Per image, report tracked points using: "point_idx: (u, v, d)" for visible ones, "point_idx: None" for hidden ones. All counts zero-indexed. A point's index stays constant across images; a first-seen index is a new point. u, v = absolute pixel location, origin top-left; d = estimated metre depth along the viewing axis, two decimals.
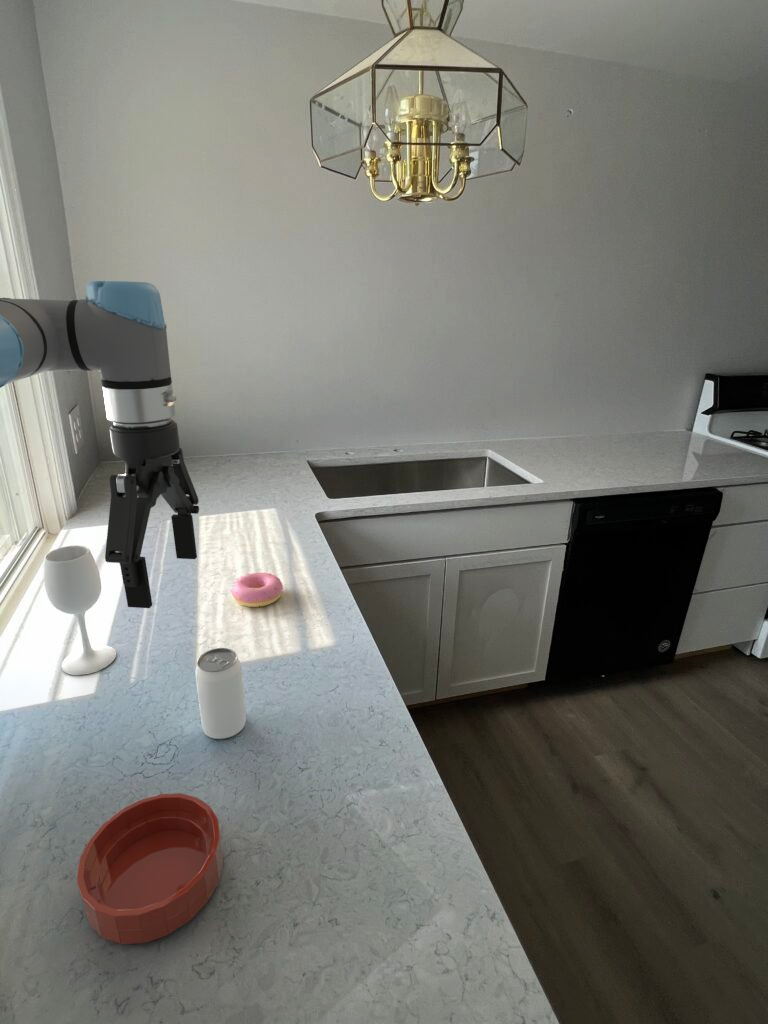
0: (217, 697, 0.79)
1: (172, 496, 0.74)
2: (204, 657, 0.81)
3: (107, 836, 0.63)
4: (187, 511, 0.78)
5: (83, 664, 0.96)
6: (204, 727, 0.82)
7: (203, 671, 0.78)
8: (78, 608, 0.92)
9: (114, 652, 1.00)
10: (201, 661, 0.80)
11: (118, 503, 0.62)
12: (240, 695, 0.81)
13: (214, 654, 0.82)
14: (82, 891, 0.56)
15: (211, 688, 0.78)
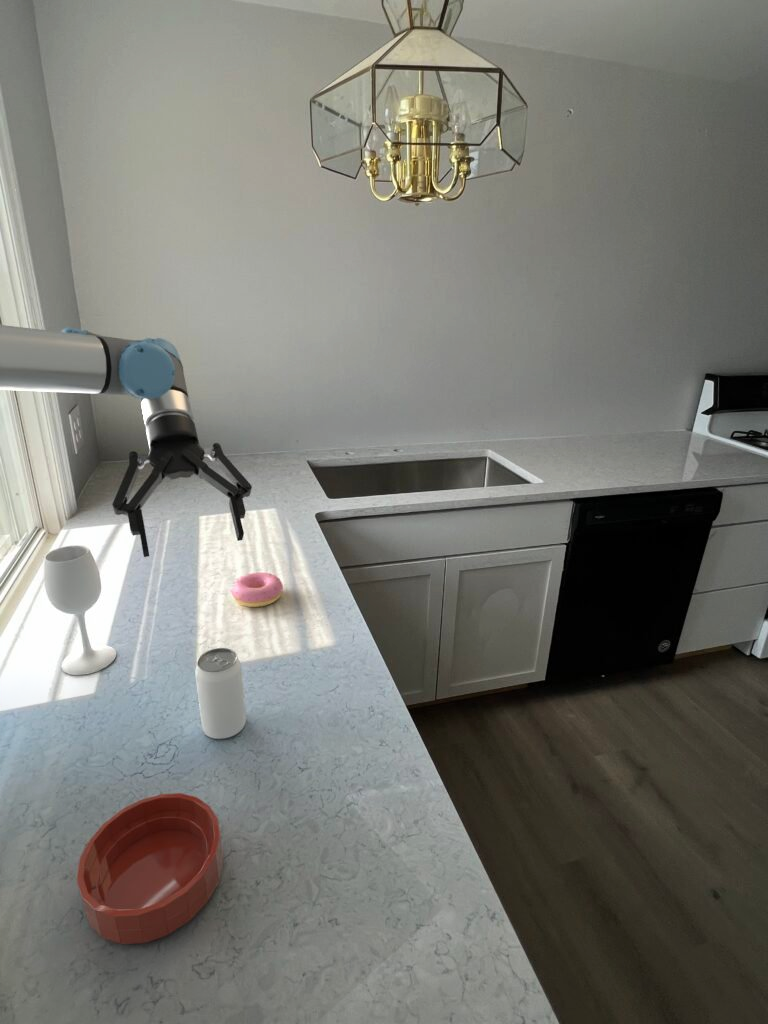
0: (217, 697, 0.79)
1: (152, 489, 0.85)
2: (204, 657, 0.81)
3: (107, 836, 0.63)
4: None
5: (83, 664, 0.96)
6: (204, 727, 0.82)
7: (203, 671, 0.78)
8: (78, 608, 0.92)
9: (114, 653, 1.00)
10: (201, 661, 0.80)
11: None
12: (240, 695, 0.81)
13: (214, 654, 0.82)
14: (82, 891, 0.56)
15: (211, 688, 0.78)
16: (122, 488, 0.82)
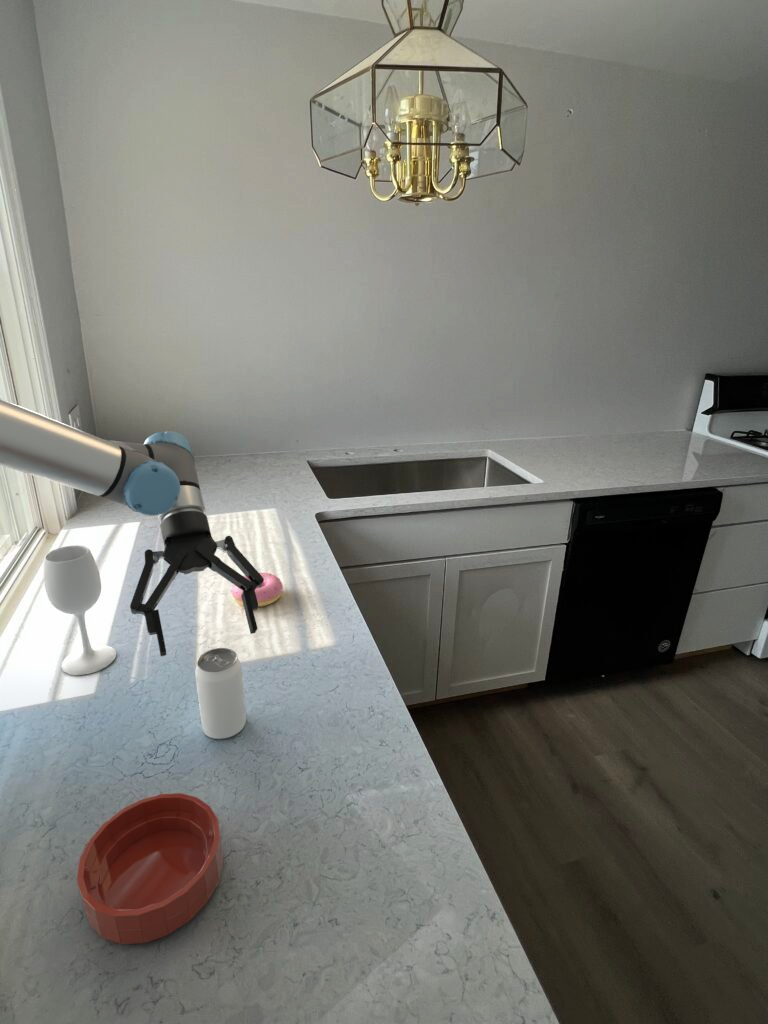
0: (217, 697, 0.79)
1: (167, 586, 0.87)
2: (204, 657, 0.81)
3: (107, 836, 0.63)
4: None
5: (83, 664, 0.96)
6: (204, 727, 0.82)
7: (203, 671, 0.78)
8: (78, 608, 0.92)
9: (114, 653, 1.00)
10: (201, 661, 0.80)
11: None
12: (240, 695, 0.81)
13: (214, 654, 0.82)
14: (82, 891, 0.56)
15: (211, 688, 0.78)
16: (139, 589, 0.84)
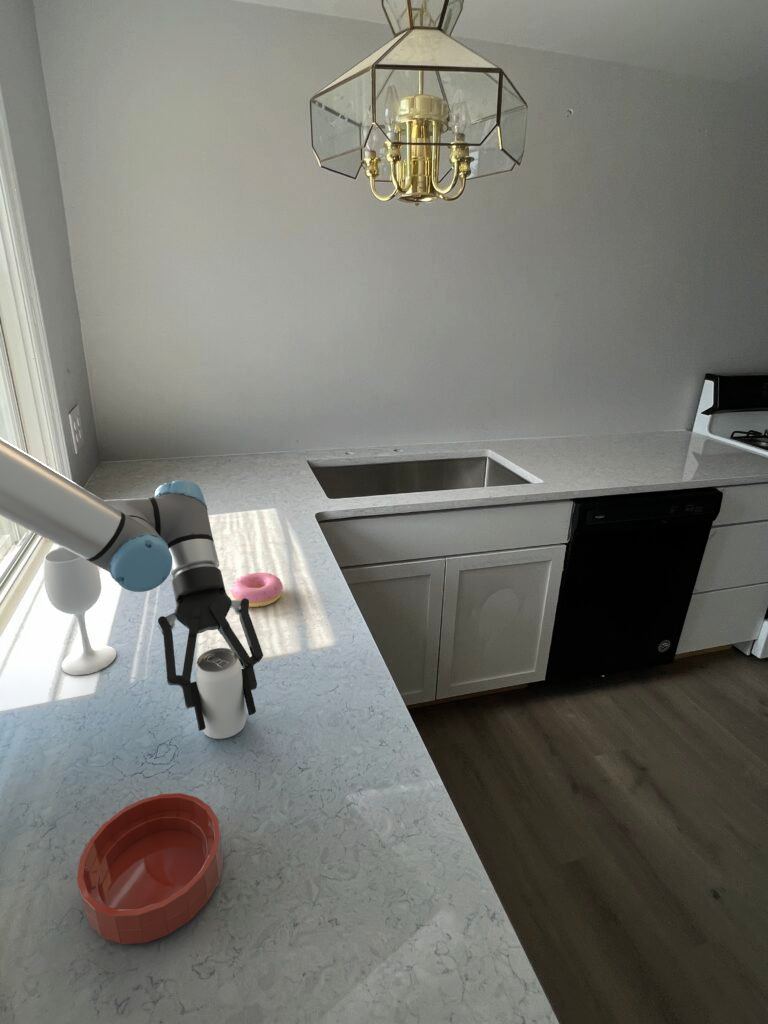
0: (216, 697, 0.79)
1: None
2: (204, 657, 0.81)
3: (107, 836, 0.63)
4: None
5: (83, 664, 0.96)
6: None
7: (203, 671, 0.78)
8: (78, 608, 0.92)
9: (114, 653, 1.00)
10: (201, 661, 0.80)
11: None
12: (240, 695, 0.81)
13: (214, 653, 0.82)
14: (82, 891, 0.56)
15: (211, 688, 0.78)
16: (169, 660, 0.80)
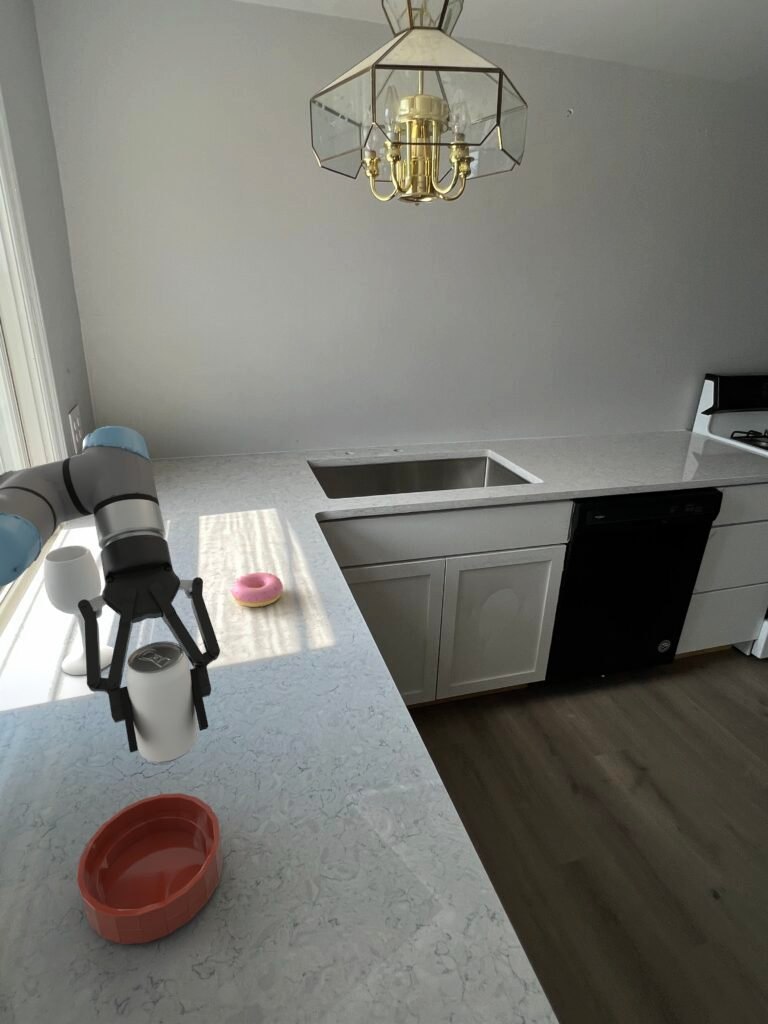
0: (154, 707, 0.58)
1: (127, 645, 0.63)
2: (139, 653, 0.61)
3: (107, 836, 0.63)
4: (120, 683, 0.61)
5: (83, 664, 0.96)
6: (139, 747, 0.61)
7: (134, 672, 0.58)
8: (78, 608, 0.92)
9: None
10: (134, 659, 0.60)
11: None
12: (188, 704, 0.61)
13: (154, 649, 0.61)
14: (82, 891, 0.56)
15: (145, 695, 0.58)
16: (91, 657, 0.60)
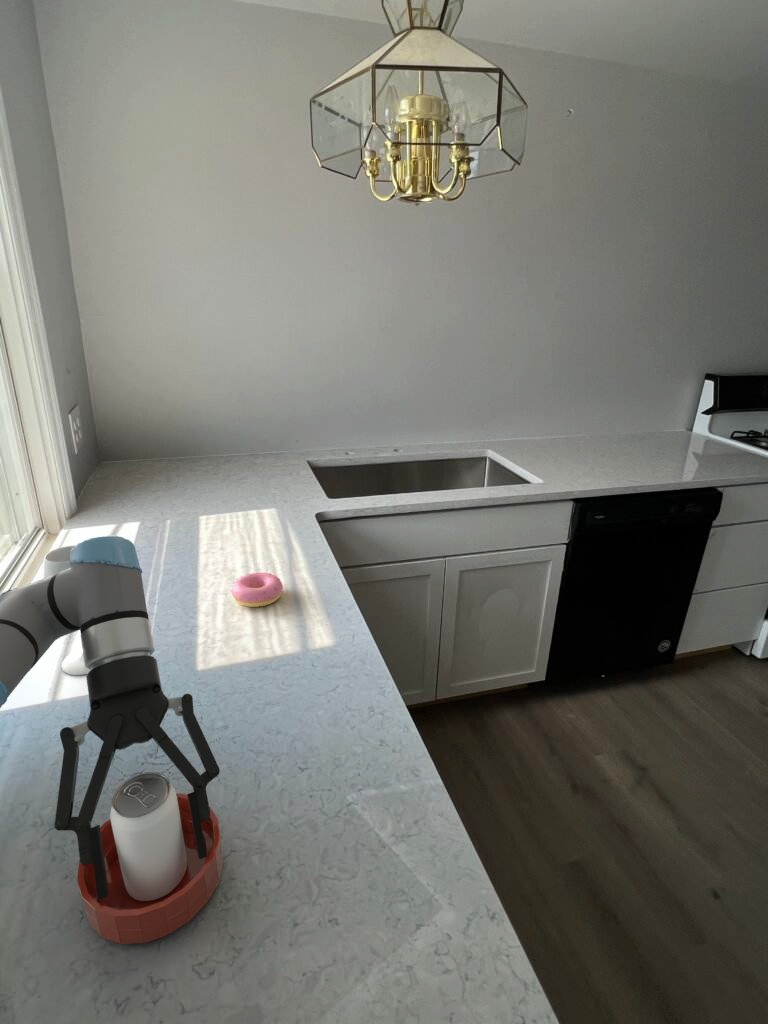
0: (139, 850, 0.56)
1: (105, 777, 0.60)
2: (125, 788, 0.58)
3: (107, 836, 0.63)
4: (91, 819, 0.59)
5: (83, 664, 0.96)
6: (125, 884, 0.59)
7: (118, 815, 0.55)
8: None
9: None
10: (119, 796, 0.57)
11: None
12: (175, 840, 0.59)
13: (140, 782, 0.59)
14: (82, 891, 0.56)
15: (130, 839, 0.55)
16: (63, 795, 0.57)
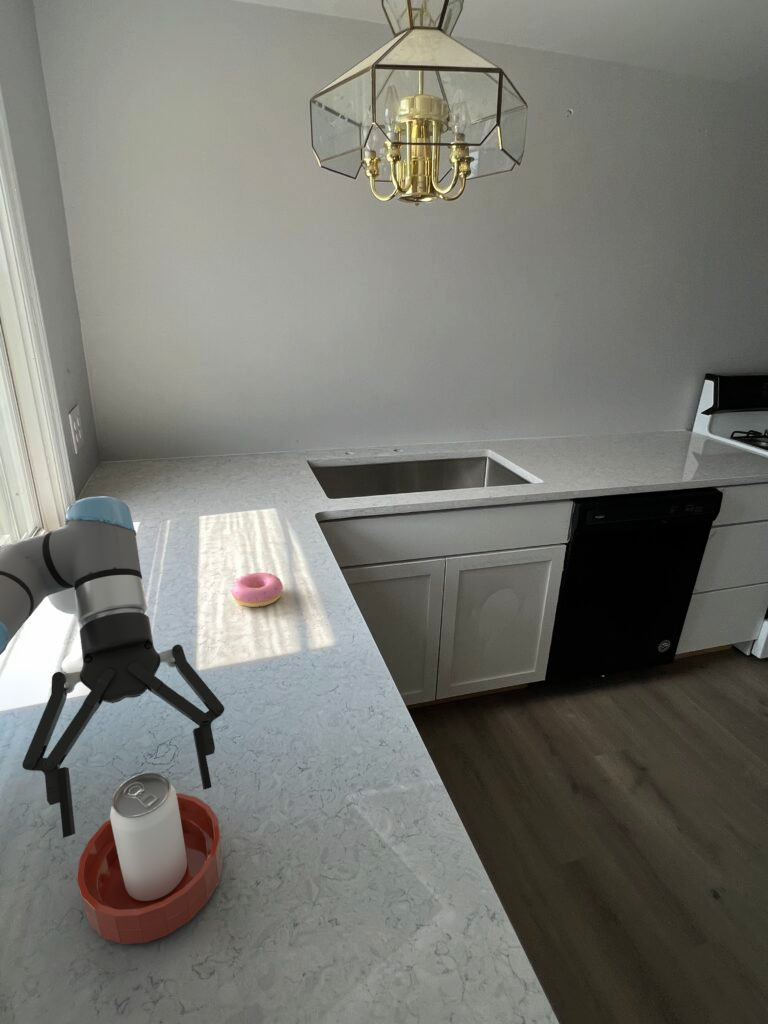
0: (139, 850, 0.56)
1: (84, 725, 0.61)
2: (125, 788, 0.58)
3: (107, 836, 0.63)
4: (60, 763, 0.59)
5: None
6: (125, 884, 0.59)
7: (118, 815, 0.55)
8: None
9: None
10: (119, 796, 0.57)
11: None
12: (175, 840, 0.59)
13: (140, 782, 0.59)
14: (82, 891, 0.56)
15: (130, 839, 0.55)
16: (39, 736, 0.58)
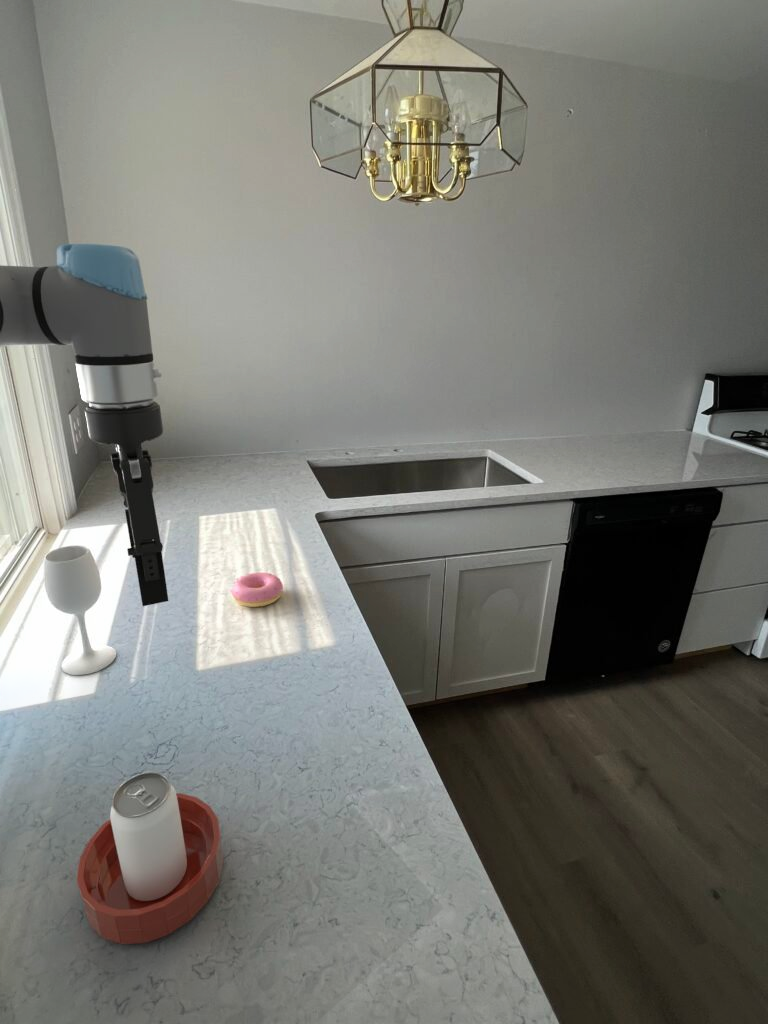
0: (139, 850, 0.56)
1: None
2: (125, 788, 0.58)
3: (107, 836, 0.63)
4: None
5: (83, 664, 0.96)
6: (125, 884, 0.59)
7: (118, 815, 0.55)
8: (78, 608, 0.92)
9: (114, 652, 1.00)
10: (119, 796, 0.57)
11: (136, 490, 0.57)
12: (175, 840, 0.59)
13: (140, 782, 0.59)
14: (82, 891, 0.56)
15: (130, 839, 0.55)
16: None
